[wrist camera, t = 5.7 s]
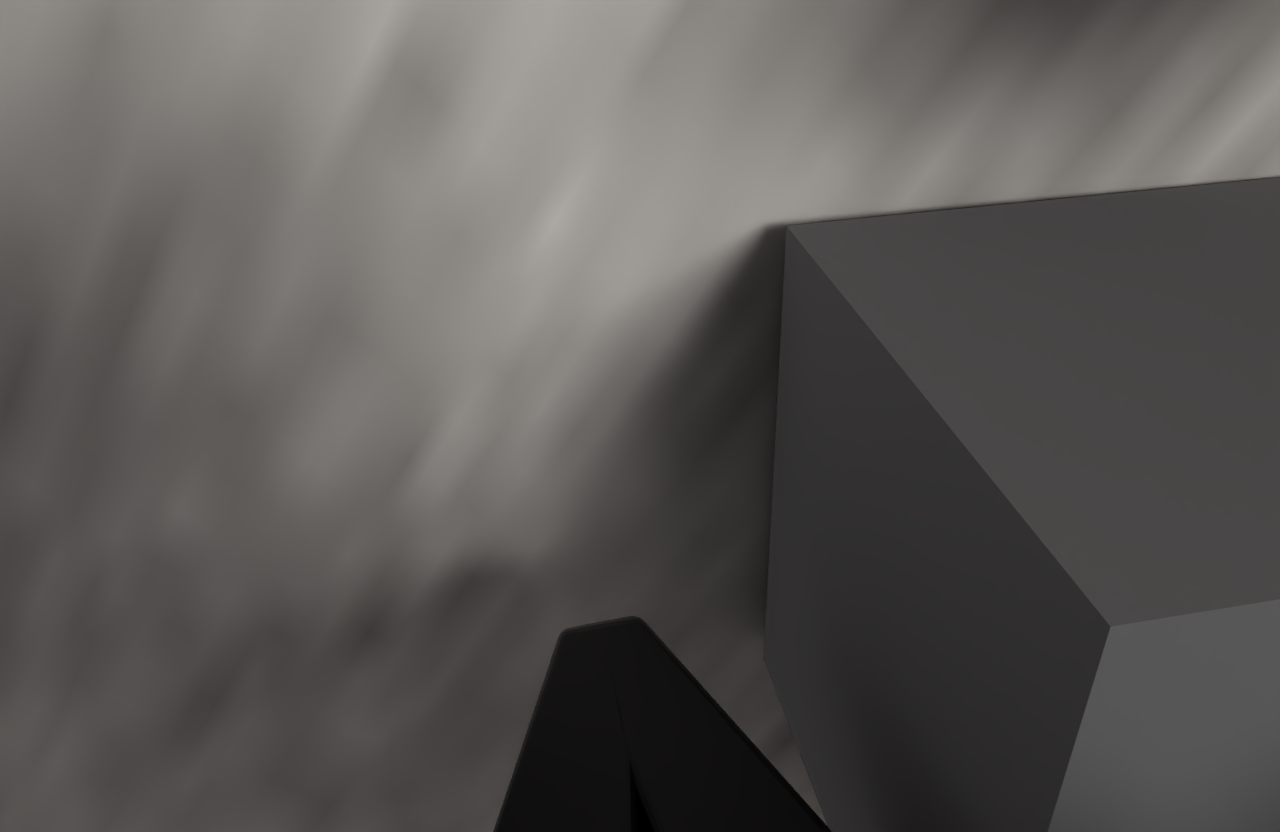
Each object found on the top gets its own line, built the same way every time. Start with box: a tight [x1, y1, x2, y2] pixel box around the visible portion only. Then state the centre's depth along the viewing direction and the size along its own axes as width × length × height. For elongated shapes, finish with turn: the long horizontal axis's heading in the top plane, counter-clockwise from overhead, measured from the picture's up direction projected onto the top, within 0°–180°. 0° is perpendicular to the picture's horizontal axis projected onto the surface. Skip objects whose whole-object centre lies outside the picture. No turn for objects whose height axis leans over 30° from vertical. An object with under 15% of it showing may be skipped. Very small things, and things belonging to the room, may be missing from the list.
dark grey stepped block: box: [764, 177, 1280, 832], centre depth 8 cm, size 5×6×5 cm
